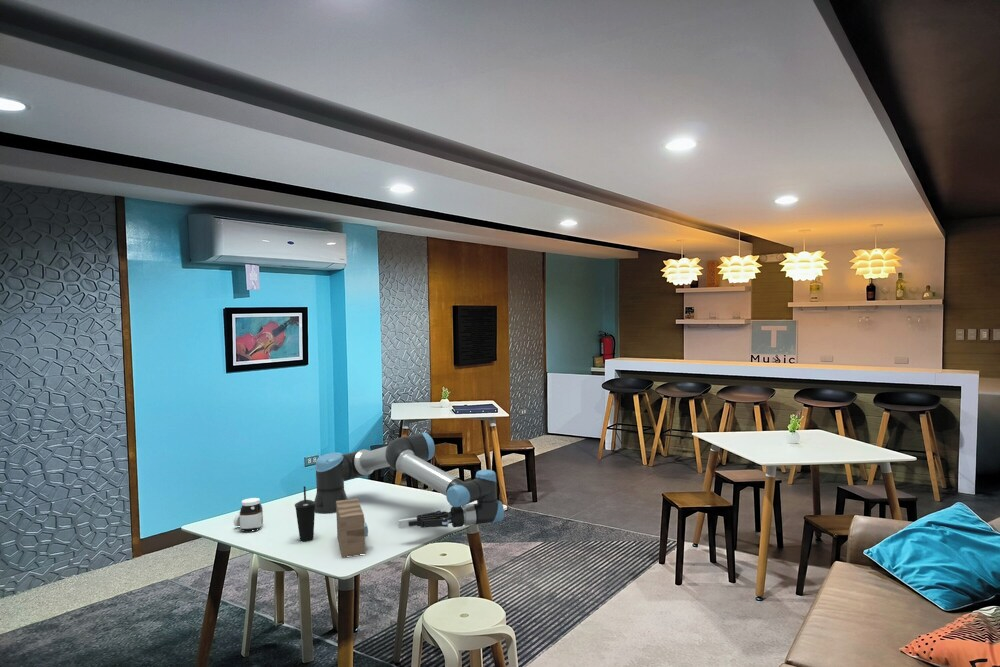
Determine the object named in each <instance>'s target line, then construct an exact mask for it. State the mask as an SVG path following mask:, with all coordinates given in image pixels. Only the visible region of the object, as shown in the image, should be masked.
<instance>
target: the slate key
mask: <svg viewBox="0 0 1000 667" xmlns="http://www.w3.org/2000/svg"><path fill="white" fill-rule="evenodd" d="M364 534H365V538H366V537H369V525H368V524H367V522H366V521H365V523H364Z"/></svg>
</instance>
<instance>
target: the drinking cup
mask: <svg viewBox="0 0 1000 667" xmlns="http://www.w3.org/2000/svg"><path fill="white" fill-rule="evenodd" d="M306 493H307V489H306V486H303V499H302V500H300V501H298V502H296V503H294V507H295V512H296V522H297V527H298V535H299V536H298V537H299V541H300V542H301V541H302V543H306V542H307V541H308V542H310V541H313V540H314V533H315V514H316V512H315V504H316V502H315V500H311V499H307V494H306ZM308 542H307V543H308Z"/></svg>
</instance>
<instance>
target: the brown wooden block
mask: <svg viewBox="0 0 1000 667" xmlns="http://www.w3.org/2000/svg"><path fill="white" fill-rule="evenodd" d="M335 513H336V533H337V534H336V536H337V542H338V547H339V551H340V552H339V553H340V557H345V558H348V557H347V556H352V557H355V556H354V555H359V556H361V555H360V554H365V555H366V540H365V539H366V537H365V534H364V518H365V514H364V512H363V509H362V507H361V504H360V501H359V499H358V498H351V499H349V498H348V500H341V501H336V512H335Z"/></svg>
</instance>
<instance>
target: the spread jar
mask: <svg viewBox="0 0 1000 667" xmlns="http://www.w3.org/2000/svg"><path fill="white" fill-rule="evenodd" d="M239 510H240V511H239V512H237V514H236V515H235V517H234V519H233V526H235V527H236V526H240V527H239V528H240V530H241V531H242V530H244V531H252V530H257V529H260V528H261V527H262V528H263V526H264V513H263V512H264V511H263V506H262V504H261V499H260V498H259V497H250V498H245V499H243V500H241V507H240V509H239ZM262 528H261V529H262ZM261 529H260V530H261ZM244 531H243V532H244ZM257 531H258V530H257Z"/></svg>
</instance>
